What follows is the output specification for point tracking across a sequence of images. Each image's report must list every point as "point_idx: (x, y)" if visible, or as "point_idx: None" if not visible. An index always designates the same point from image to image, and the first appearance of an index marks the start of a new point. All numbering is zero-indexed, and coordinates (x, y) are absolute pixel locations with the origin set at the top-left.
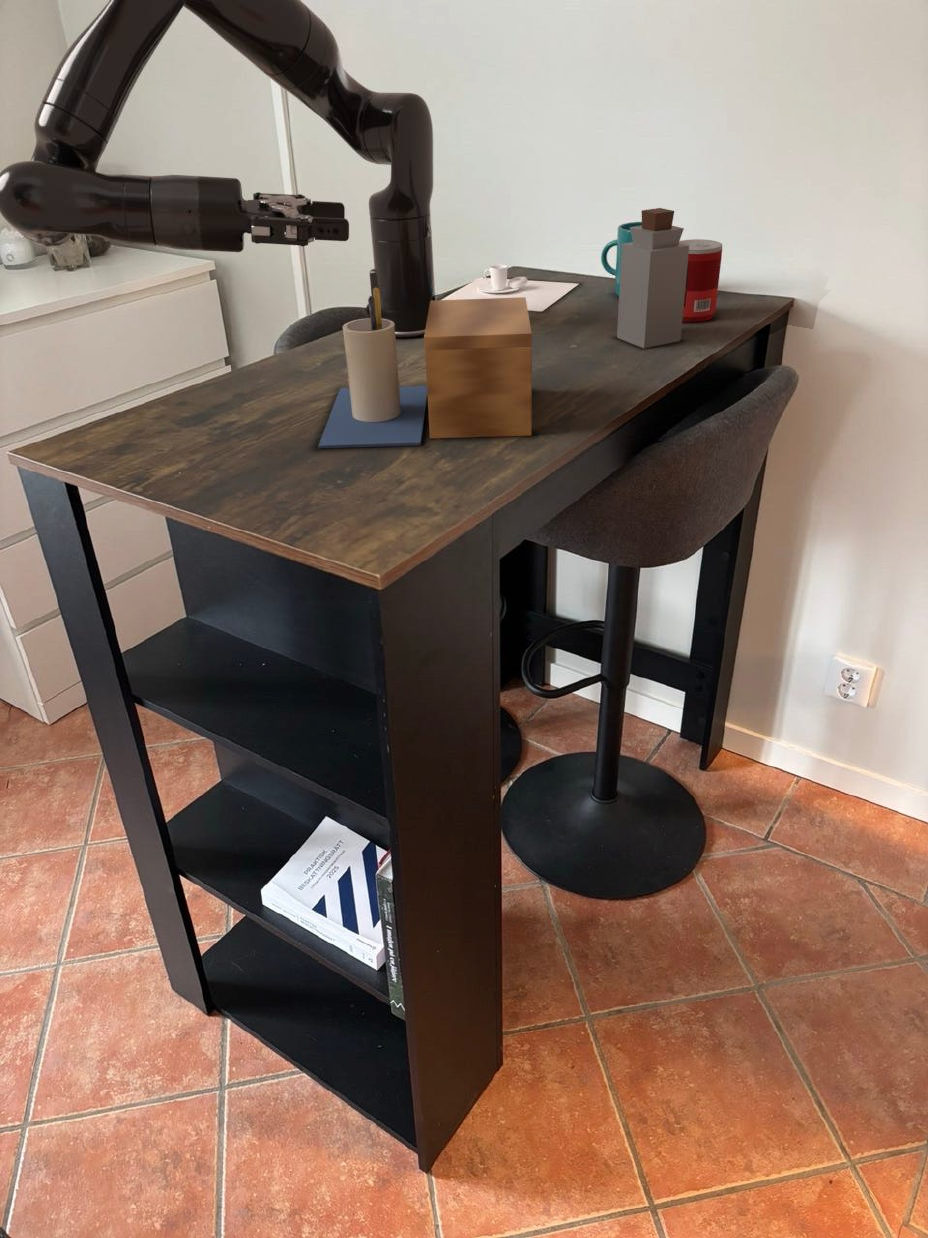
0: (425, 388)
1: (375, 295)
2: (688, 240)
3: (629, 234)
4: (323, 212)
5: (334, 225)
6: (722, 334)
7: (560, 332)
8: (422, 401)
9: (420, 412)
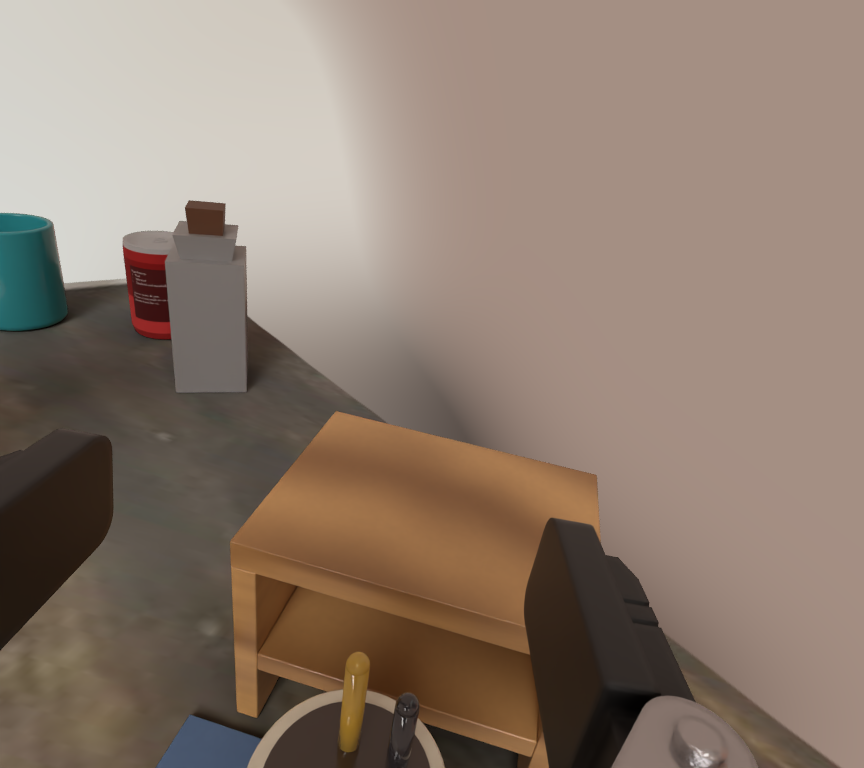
0: (208, 728)
1: (367, 680)
2: (129, 235)
3: (6, 239)
4: (17, 568)
5: (650, 607)
6: (257, 338)
7: (77, 424)
8: None
9: None
